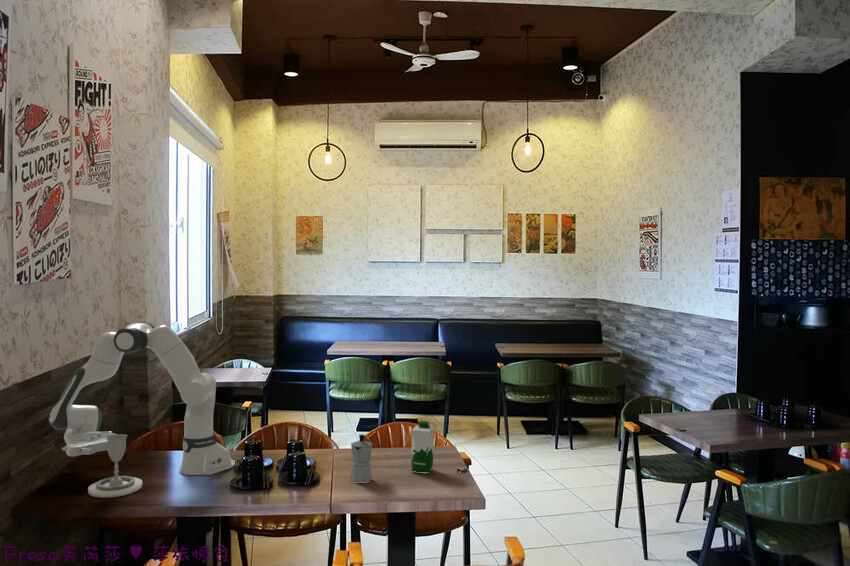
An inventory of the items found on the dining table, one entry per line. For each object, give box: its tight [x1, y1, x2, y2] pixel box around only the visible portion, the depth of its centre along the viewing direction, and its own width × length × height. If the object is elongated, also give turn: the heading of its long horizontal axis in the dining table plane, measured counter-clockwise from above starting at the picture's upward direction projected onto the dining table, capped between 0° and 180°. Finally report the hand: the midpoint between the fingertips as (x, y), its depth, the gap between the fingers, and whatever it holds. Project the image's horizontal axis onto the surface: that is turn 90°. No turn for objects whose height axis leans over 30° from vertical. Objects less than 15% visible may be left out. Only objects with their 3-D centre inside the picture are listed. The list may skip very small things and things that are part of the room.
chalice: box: [106, 433, 128, 487], centre depth 228 cm, size 7×7×18 cm
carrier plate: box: [87, 475, 143, 499], centre depth 228 cm, size 18×18×3 cm
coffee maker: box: [349, 434, 373, 483], centre depth 243 cm, size 15×9×18 cm, turn 168°
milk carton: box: [411, 420, 435, 472], centre depth 255 cm, size 9×9×20 cm
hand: (103, 449), depth 234 cm, fingers open, 8 cm apart
